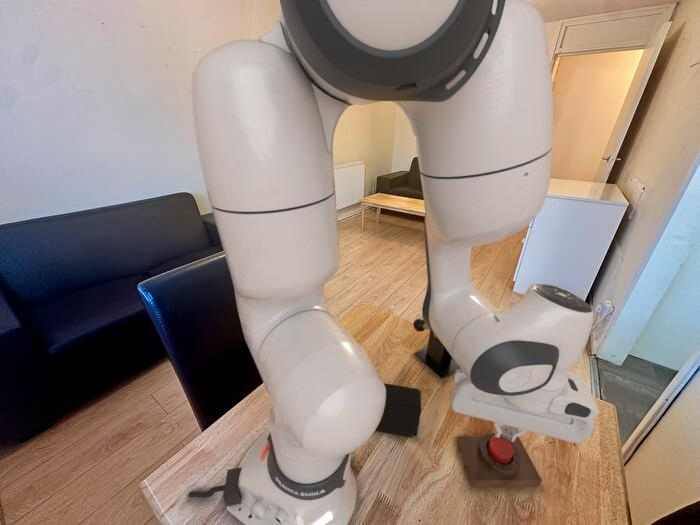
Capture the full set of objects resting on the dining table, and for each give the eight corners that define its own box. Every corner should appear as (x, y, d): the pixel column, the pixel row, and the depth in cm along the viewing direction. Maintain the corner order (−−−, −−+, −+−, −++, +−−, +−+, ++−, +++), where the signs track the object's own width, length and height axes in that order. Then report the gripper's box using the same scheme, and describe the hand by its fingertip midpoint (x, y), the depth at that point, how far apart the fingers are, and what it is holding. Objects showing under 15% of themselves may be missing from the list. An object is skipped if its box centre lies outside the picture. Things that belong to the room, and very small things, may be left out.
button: (493, 464, 51) (495, 458, 50) (483, 441, 54) (485, 435, 54) (515, 463, 51) (518, 458, 50) (504, 441, 55) (506, 435, 54)
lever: (412, 332, 81) (409, 320, 80) (421, 327, 82) (419, 316, 82) (444, 341, 70) (441, 327, 70) (454, 336, 72) (451, 322, 71)
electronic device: (416, 439, 58) (421, 407, 54) (368, 429, 60) (369, 398, 56) (416, 420, 62) (421, 389, 58) (370, 412, 64) (372, 380, 59)
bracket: (413, 356, 79) (419, 319, 73) (434, 345, 82) (441, 310, 77) (441, 382, 71) (449, 343, 65) (462, 369, 75) (472, 331, 69)
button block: (471, 487, 51) (476, 475, 49) (456, 442, 58) (459, 430, 56) (538, 487, 51) (545, 474, 49) (514, 442, 58) (520, 429, 56)
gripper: (457, 379, 44) (442, 435, 50) (613, 416, 39) (576, 473, 45) (455, 351, 50) (442, 405, 56) (592, 380, 44) (562, 435, 51)
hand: (503, 435), depth 50 cm, fingers closed
